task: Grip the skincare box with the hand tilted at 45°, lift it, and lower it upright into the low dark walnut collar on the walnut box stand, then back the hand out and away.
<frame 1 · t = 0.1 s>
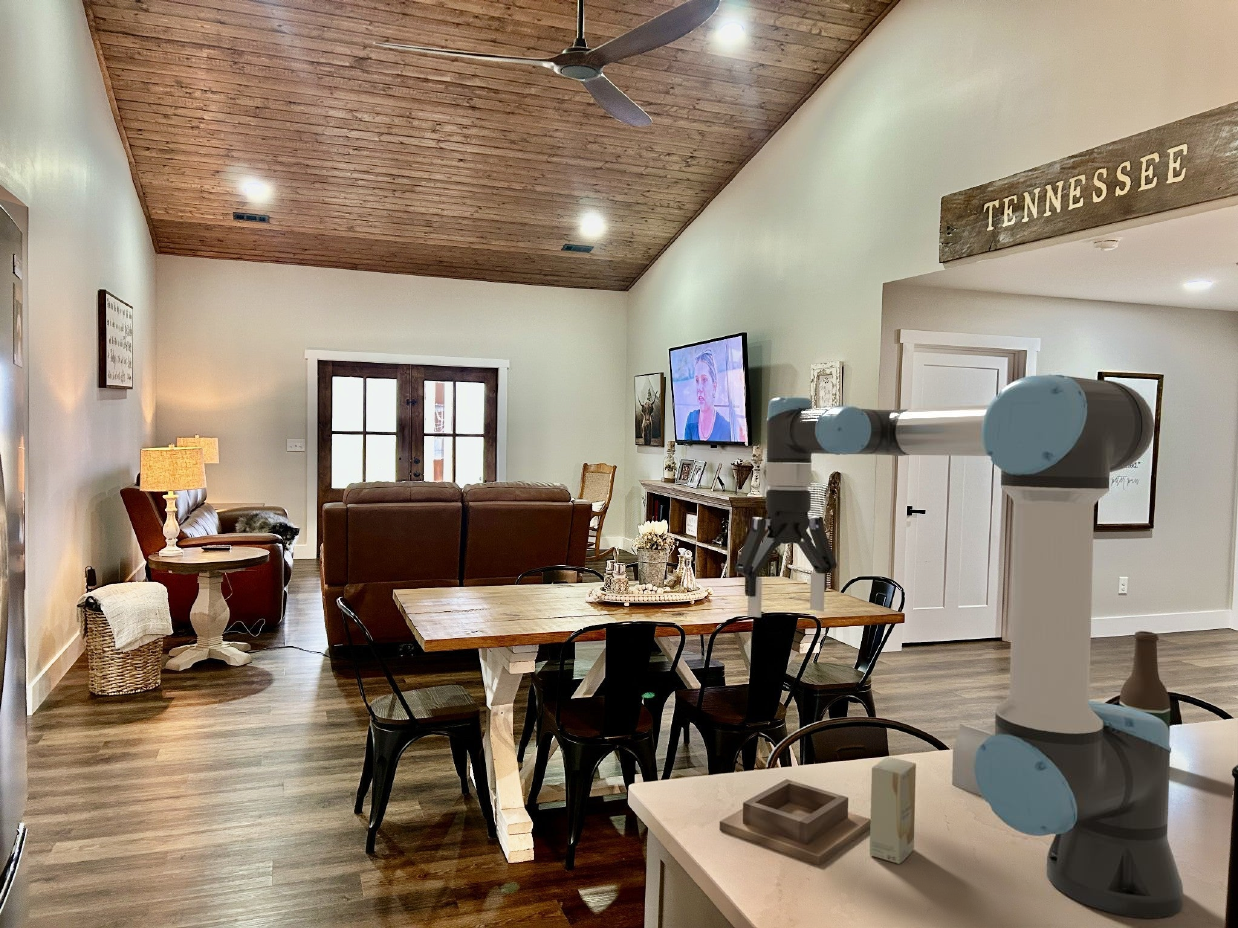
hand: (786, 613, 146), 28 cm above the kitchen island, tool pointing down, fingers open, 13 cm apart
walnut box stand: (795, 828, 126), on the kitchen island
skincare box: (892, 853, 119), on the kitchen island
beer bottle: (1143, 766, 154), on the kitchen island
grey rectangular block: (976, 790, 142), on the kitchen island
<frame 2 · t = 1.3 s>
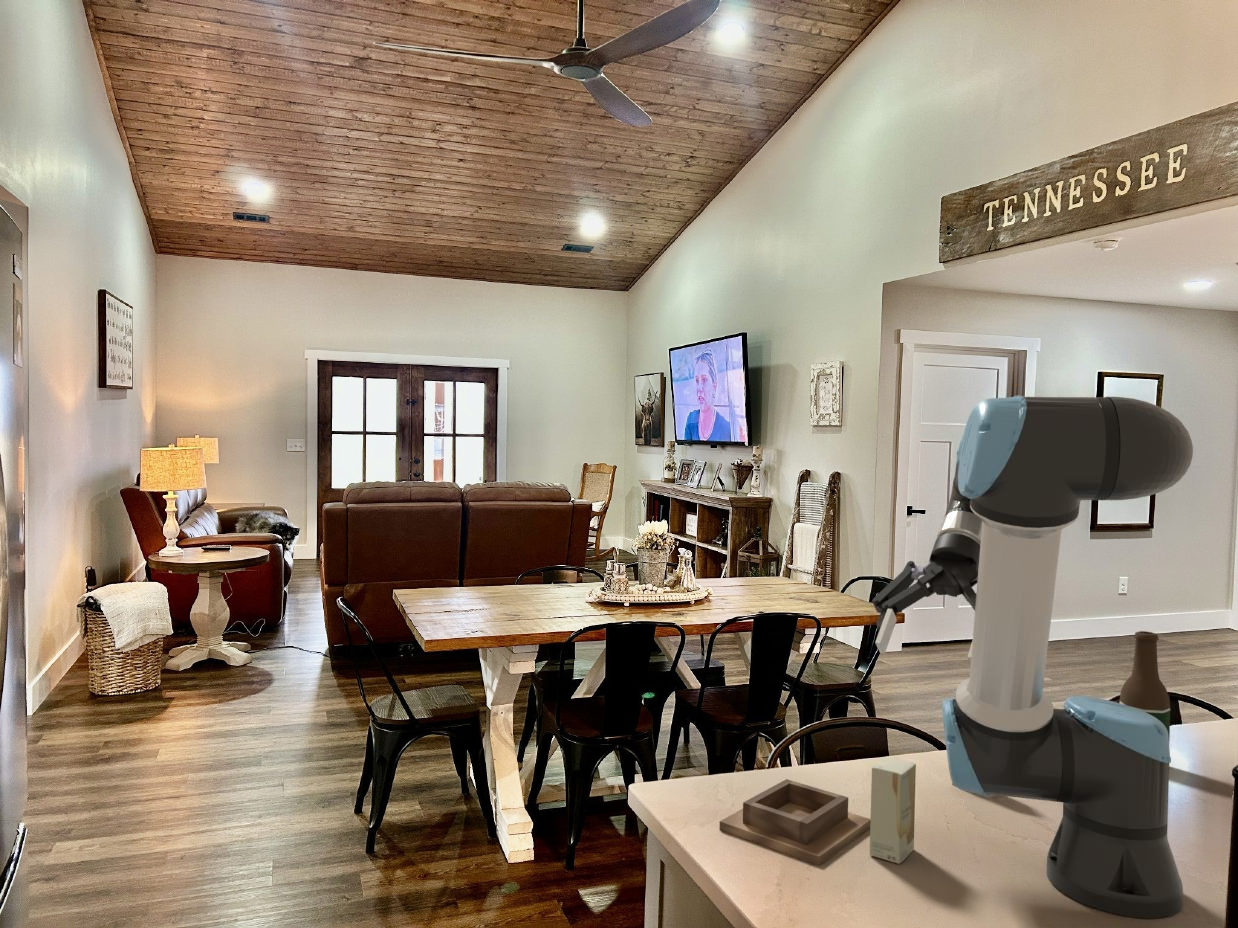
hand: (924, 655, 126), 26 cm above the kitchen island, tool tilted 45°, fingers open, 13 cm apart
nothing on the kitchen island moved.
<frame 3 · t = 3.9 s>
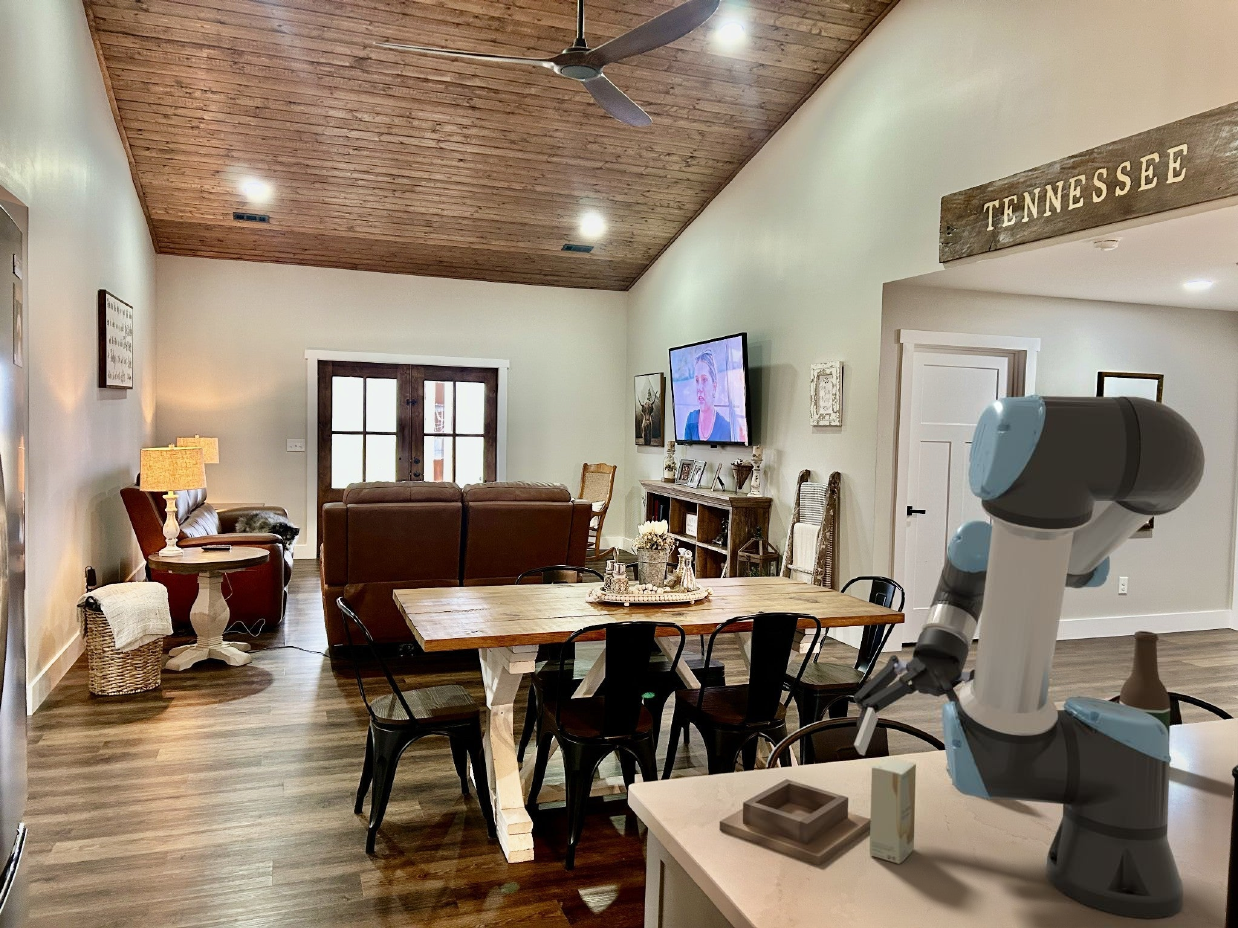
hand: (903, 761, 123), 11 cm above the kitchen island, tool tilted 45°, fingers open, 13 cm apart
nothing on the kitchen island moved.
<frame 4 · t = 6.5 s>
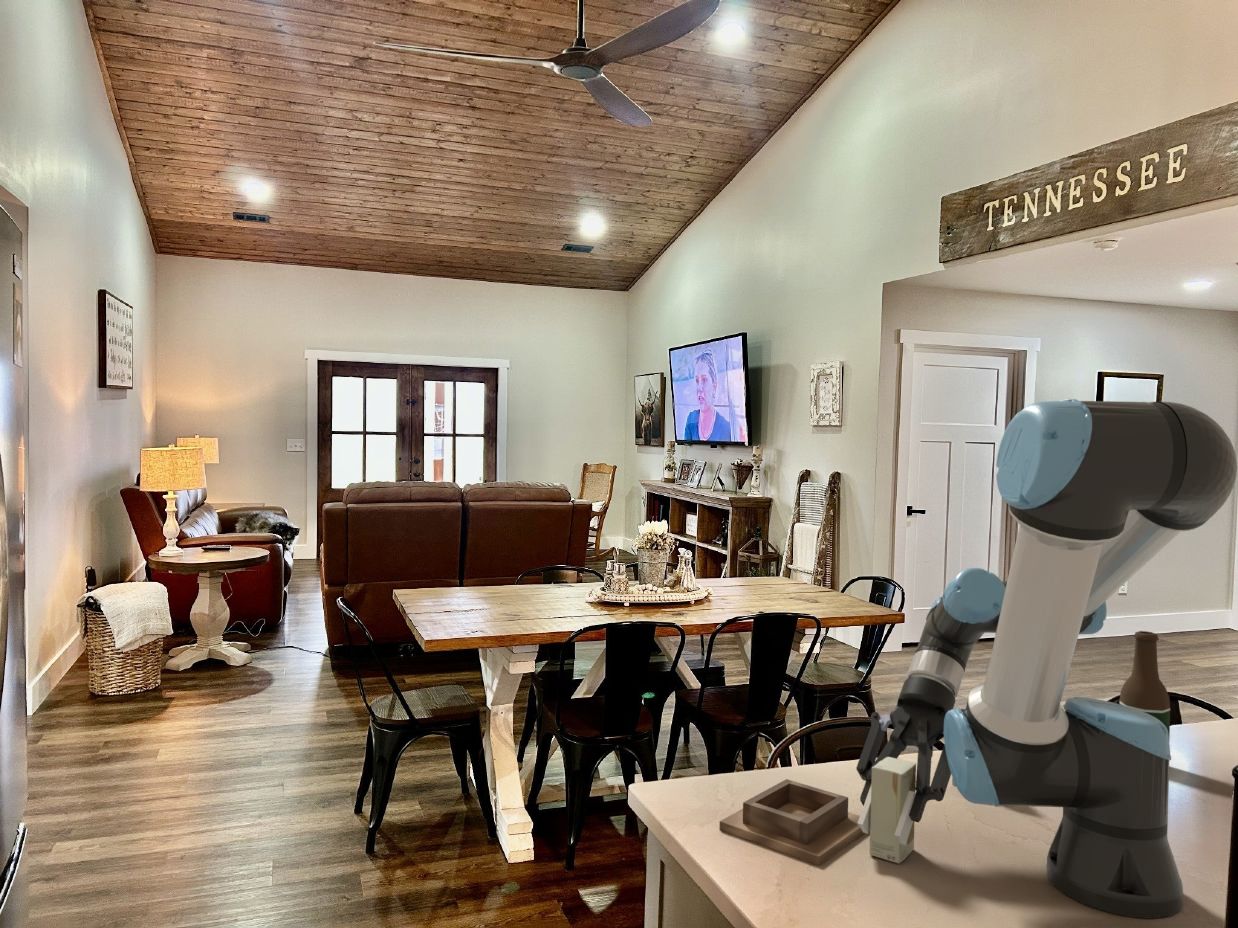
hand: (881, 833, 116), 4 cm above the kitchen island, tool tilted 45°, fingers closed on skincare box, 4 cm apart
skincare box: (892, 853, 119), on the kitchen island, touching gripper
everything else where it was.
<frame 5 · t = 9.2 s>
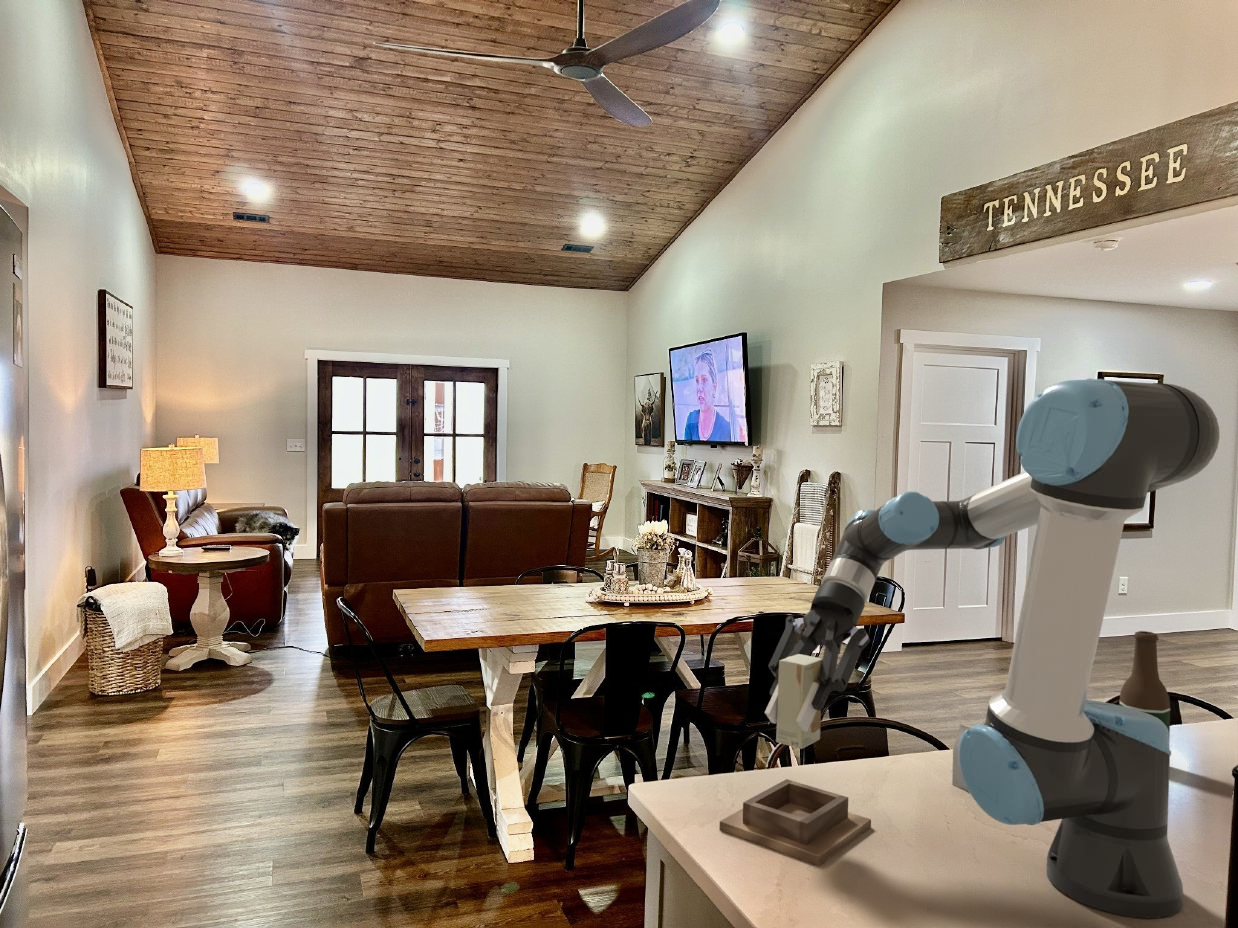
hand: (785, 721, 123), 16 cm above the kitchen island, tool tilted 45°, fingers closed on skincare box, 4 cm apart
skincare box: (798, 742, 126), point 12 cm above the kitchen island, touching gripper
everything else where it was.
when the fingers open (6 cm above the kitchen island, at t = 11.9 s): skincare box stays where it is, resting on walnut box stand.
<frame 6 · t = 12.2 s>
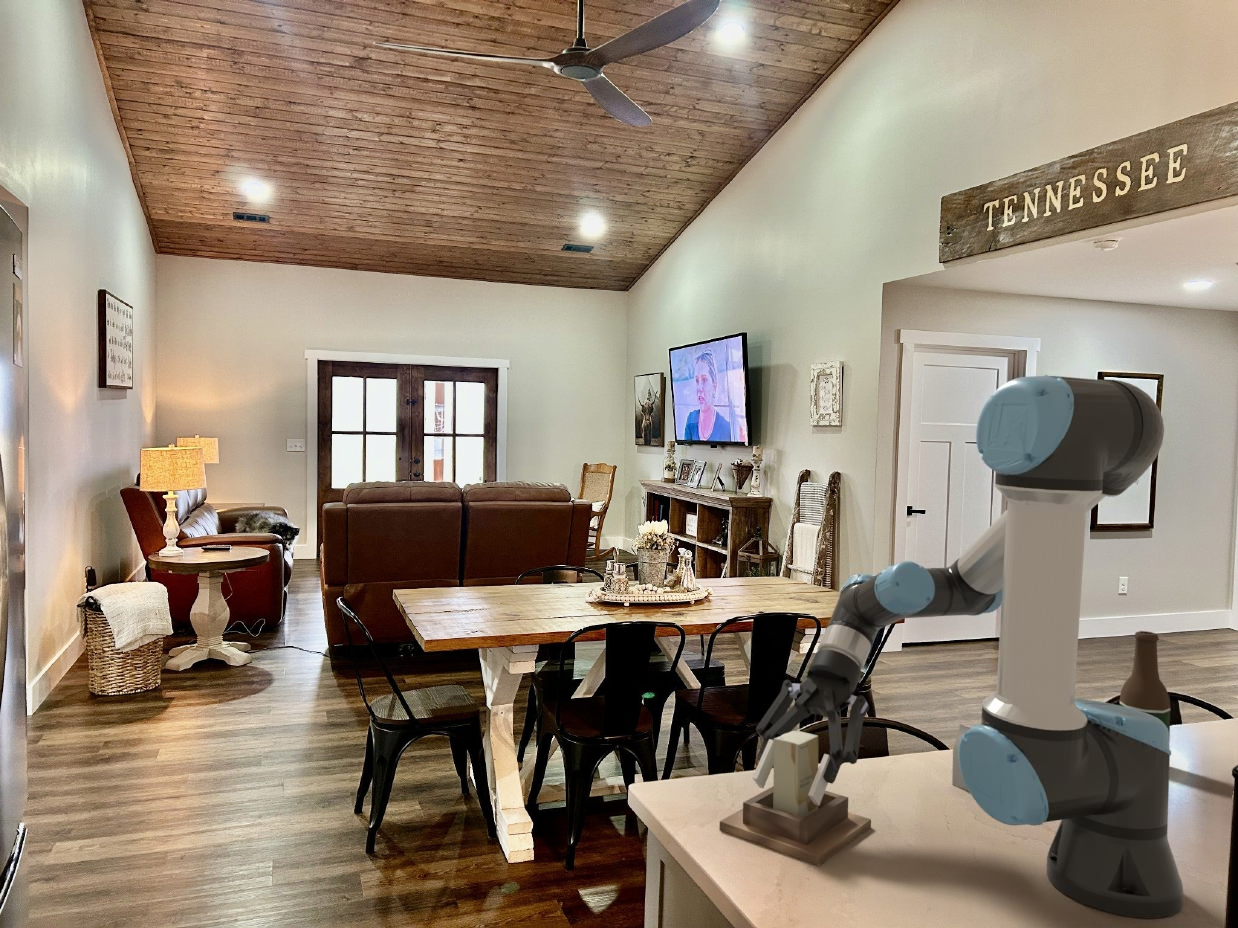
hand: (785, 791, 123), 6 cm above the kitchen island, tool tilted 45°, fingers open, 8 cm apart
skincare box: (796, 820, 126), point 1 cm above the kitchen island, touching walnut box stand
everything else where it was.
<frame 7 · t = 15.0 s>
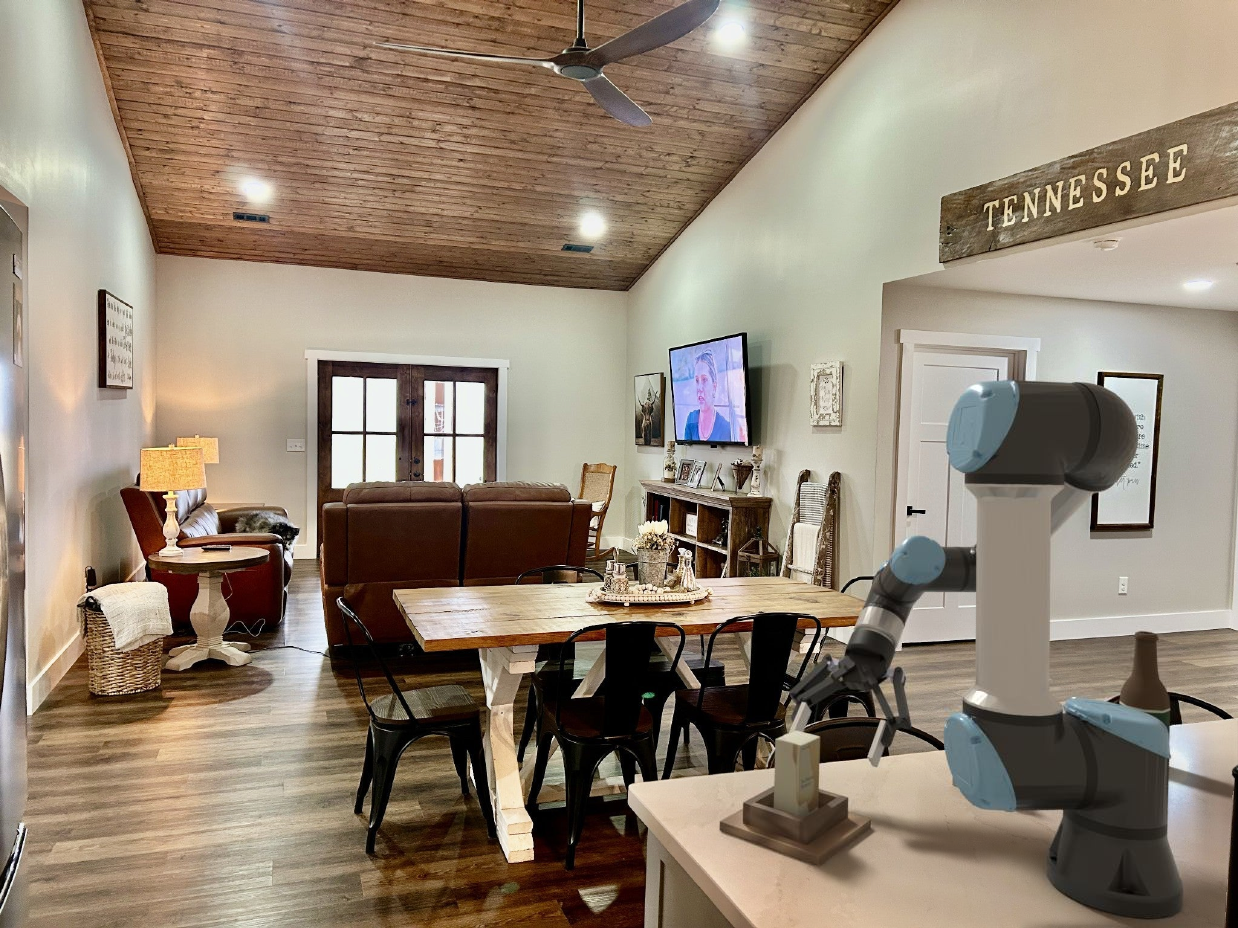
hand: (830, 751, 134), 9 cm above the kitchen island, tool tilted 45°, fingers open, 13 cm apart
nothing on the kitchen island moved.
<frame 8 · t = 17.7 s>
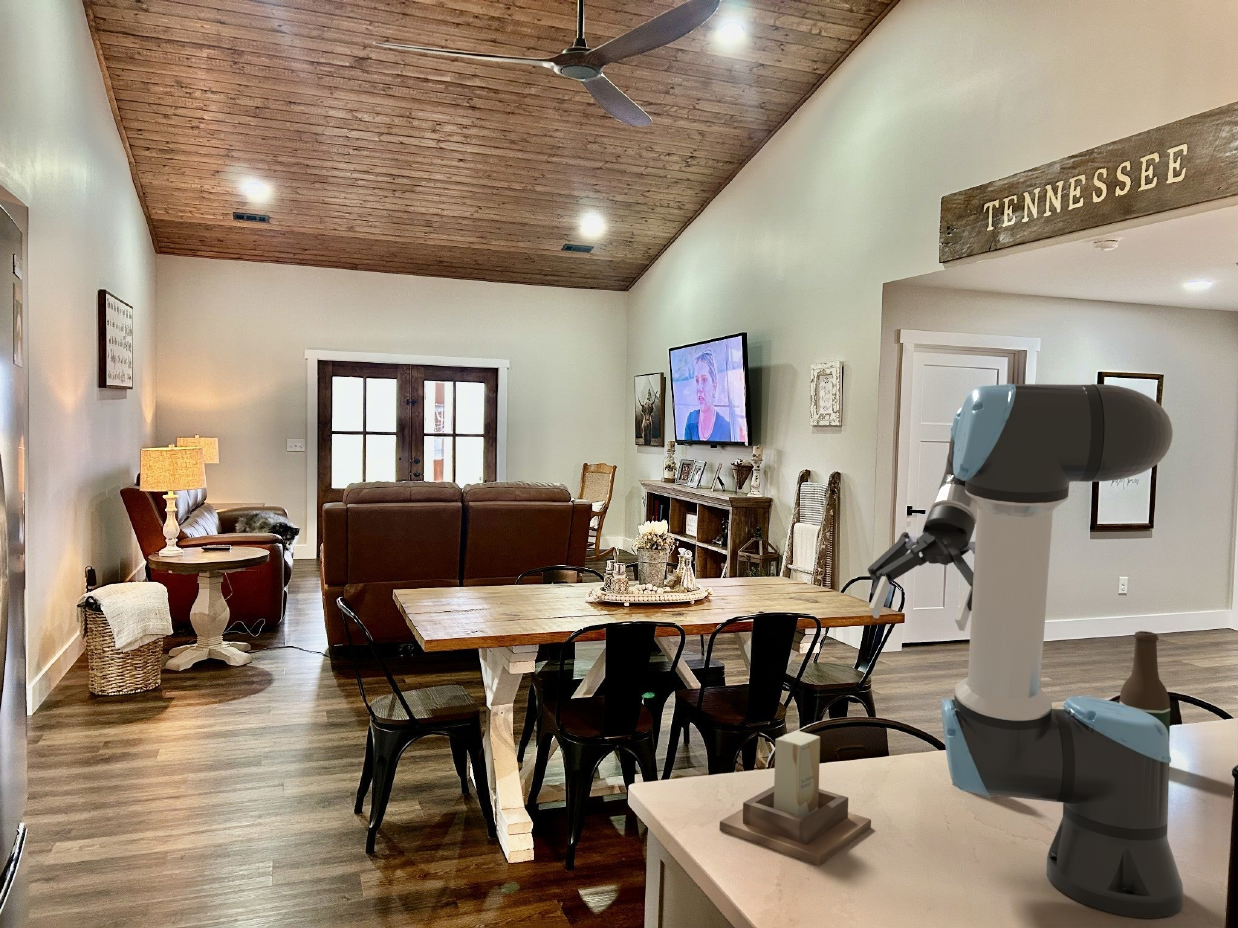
hand: (915, 619, 133), 30 cm above the kitchen island, tool tilted 45°, fingers open, 13 cm apart
nothing on the kitchen island moved.
at the end: skincare box 0.1 cm from the walnut box stand (horizontally); skincare box point 1.0 cm above the kitchen island; skincare box tilted 0° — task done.
